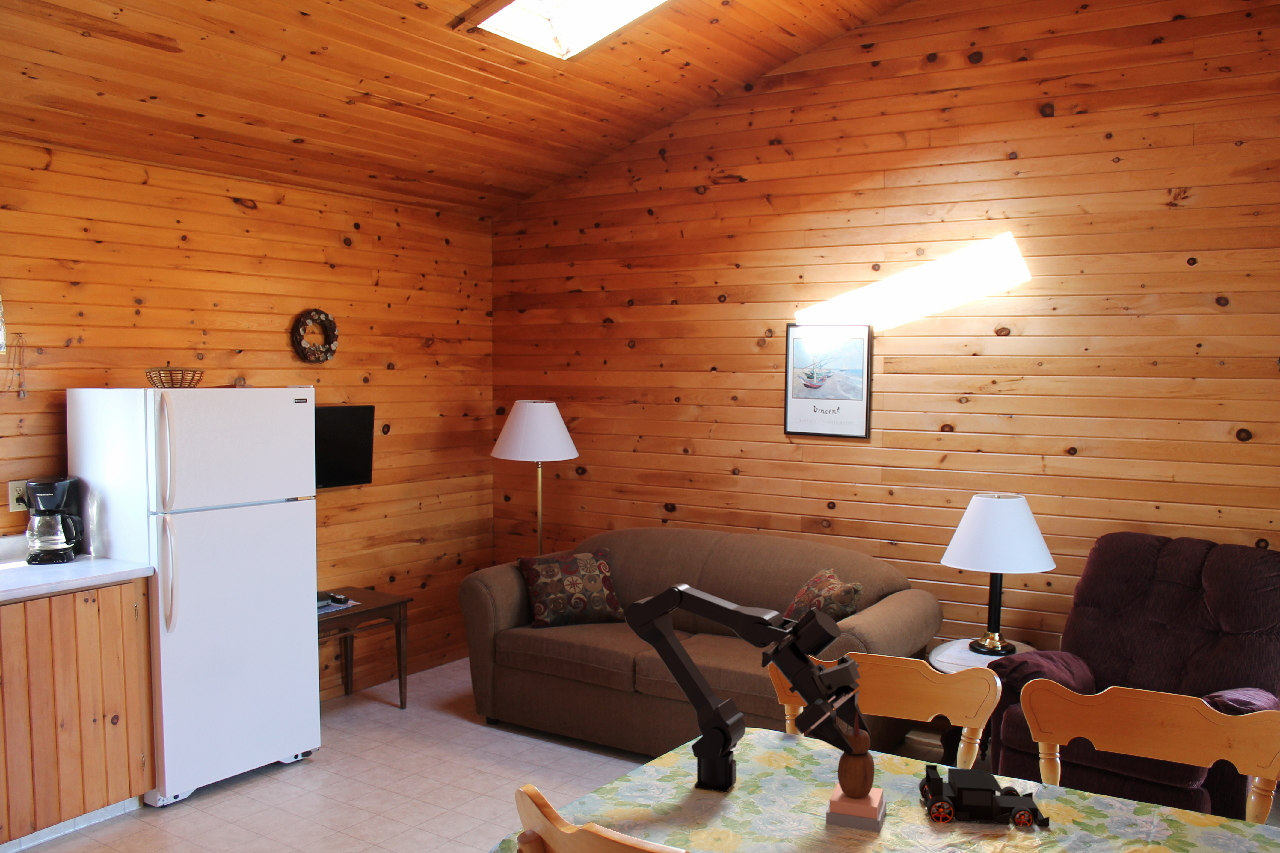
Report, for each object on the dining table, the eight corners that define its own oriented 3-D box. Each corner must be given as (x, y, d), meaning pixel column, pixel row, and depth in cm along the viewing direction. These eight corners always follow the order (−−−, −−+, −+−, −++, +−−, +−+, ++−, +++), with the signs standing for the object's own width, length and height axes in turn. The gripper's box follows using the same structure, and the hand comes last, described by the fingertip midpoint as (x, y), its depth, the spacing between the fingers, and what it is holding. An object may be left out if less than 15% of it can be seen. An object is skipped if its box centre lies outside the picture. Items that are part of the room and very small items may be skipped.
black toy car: (1049, 830, 163) (1050, 788, 163) (928, 824, 166) (928, 782, 165) (1032, 804, 174) (1032, 764, 173) (918, 798, 176) (918, 759, 176)
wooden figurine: (866, 805, 163) (866, 717, 163) (833, 797, 166) (834, 712, 166) (878, 790, 169) (878, 706, 168) (846, 783, 172) (847, 700, 171)
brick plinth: (826, 823, 165) (826, 800, 165) (835, 802, 174) (835, 780, 173) (879, 832, 162) (879, 809, 162) (886, 810, 170) (886, 788, 170)
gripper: (812, 657, 161) (877, 734, 156) (848, 632, 177) (908, 702, 172) (768, 695, 165) (829, 772, 160) (807, 668, 181) (864, 737, 176)
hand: (860, 744), depth 167 cm, fingers open, 9 cm apart
